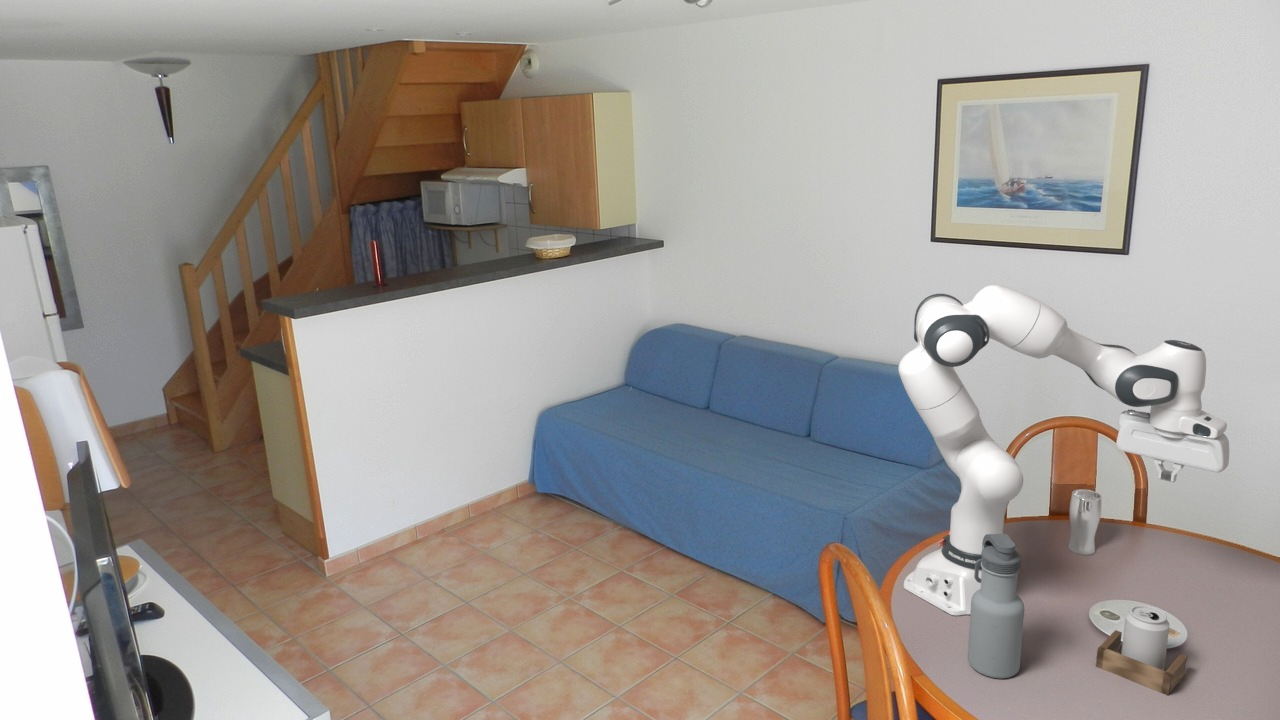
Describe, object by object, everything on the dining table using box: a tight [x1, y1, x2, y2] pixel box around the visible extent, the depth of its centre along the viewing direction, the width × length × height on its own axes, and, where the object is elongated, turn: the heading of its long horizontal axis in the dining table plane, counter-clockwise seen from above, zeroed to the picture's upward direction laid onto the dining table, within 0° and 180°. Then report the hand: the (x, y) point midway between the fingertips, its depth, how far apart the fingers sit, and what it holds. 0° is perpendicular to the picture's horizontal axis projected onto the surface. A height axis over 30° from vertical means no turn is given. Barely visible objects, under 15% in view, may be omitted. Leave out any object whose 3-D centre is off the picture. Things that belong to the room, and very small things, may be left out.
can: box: [1120, 604, 1170, 671], centre depth 168 cm, size 8×8×12 cm
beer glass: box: [1067, 488, 1102, 556], centre depth 213 cm, size 7×7×15 cm
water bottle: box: [967, 533, 1025, 679], centre depth 169 cm, size 10×10×28 cm
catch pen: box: [1095, 629, 1188, 696], centre depth 168 cm, size 13×9×4 cm
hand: (1166, 479), depth 180 cm, fingers closed
